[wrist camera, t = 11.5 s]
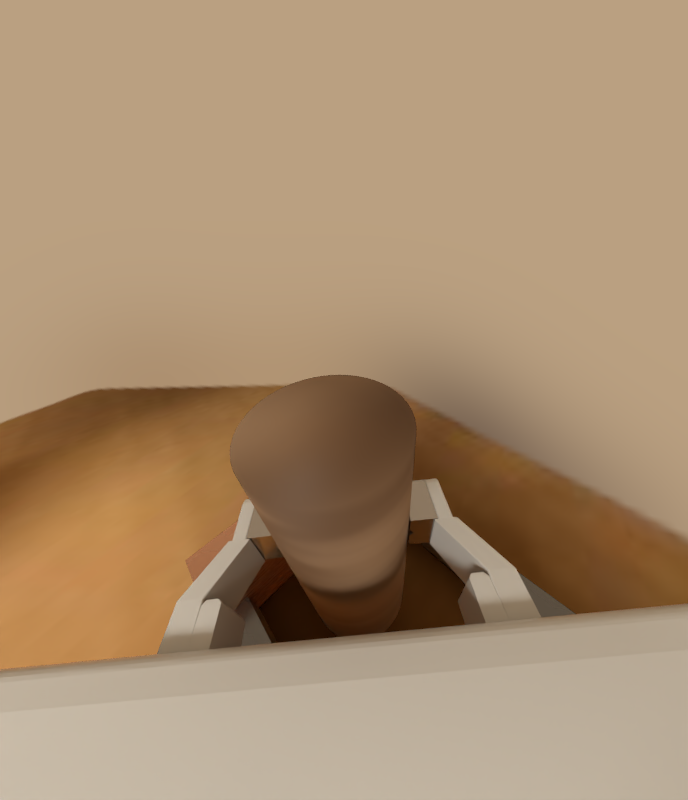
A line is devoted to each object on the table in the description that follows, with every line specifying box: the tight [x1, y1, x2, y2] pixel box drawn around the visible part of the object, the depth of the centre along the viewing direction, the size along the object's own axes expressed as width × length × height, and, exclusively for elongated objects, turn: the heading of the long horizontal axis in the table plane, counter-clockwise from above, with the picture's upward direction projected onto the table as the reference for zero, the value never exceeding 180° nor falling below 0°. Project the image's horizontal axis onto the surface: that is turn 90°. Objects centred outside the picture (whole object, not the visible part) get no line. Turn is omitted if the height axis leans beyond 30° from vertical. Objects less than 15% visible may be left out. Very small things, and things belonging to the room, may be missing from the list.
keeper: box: [230, 375, 416, 637], centre depth 11 cm, size 5×5×12 cm
